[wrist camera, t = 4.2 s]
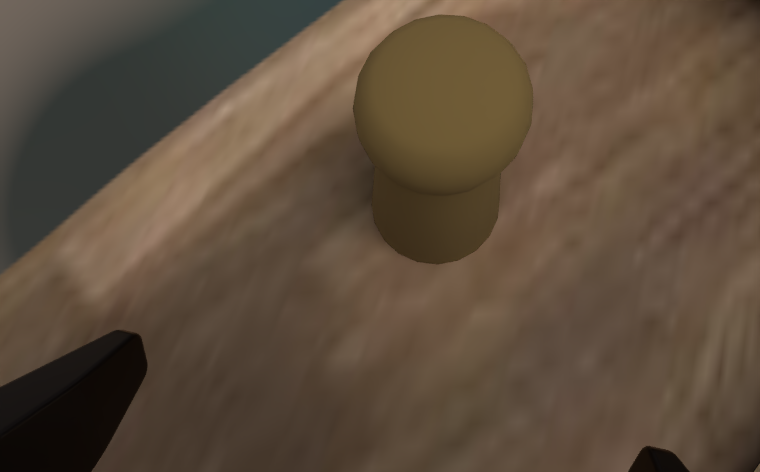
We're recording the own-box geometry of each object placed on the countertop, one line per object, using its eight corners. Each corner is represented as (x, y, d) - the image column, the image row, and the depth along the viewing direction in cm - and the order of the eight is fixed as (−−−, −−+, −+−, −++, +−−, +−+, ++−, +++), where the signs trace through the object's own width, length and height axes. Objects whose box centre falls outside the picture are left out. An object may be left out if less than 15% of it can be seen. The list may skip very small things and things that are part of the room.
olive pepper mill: (471, 125, 24) (507, -53, 14) (519, 238, 23) (603, 136, 12) (355, 167, 24) (301, 21, 14) (396, 282, 23) (372, 218, 12)
